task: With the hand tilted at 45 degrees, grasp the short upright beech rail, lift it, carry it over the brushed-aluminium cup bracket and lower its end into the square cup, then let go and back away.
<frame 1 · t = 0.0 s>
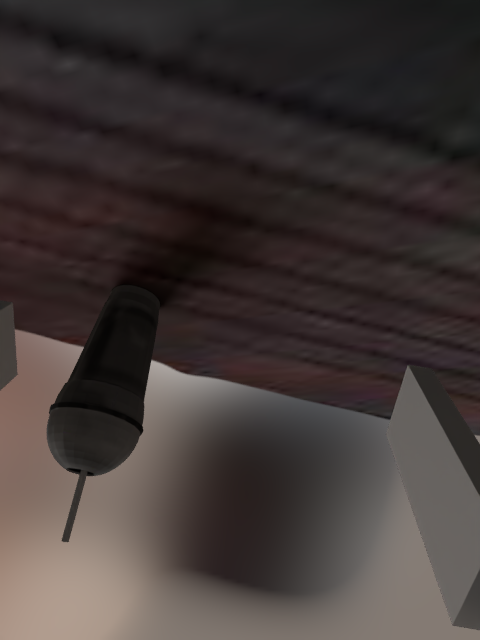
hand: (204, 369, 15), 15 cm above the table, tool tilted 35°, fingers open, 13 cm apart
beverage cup: (136, 297, 41), on the table
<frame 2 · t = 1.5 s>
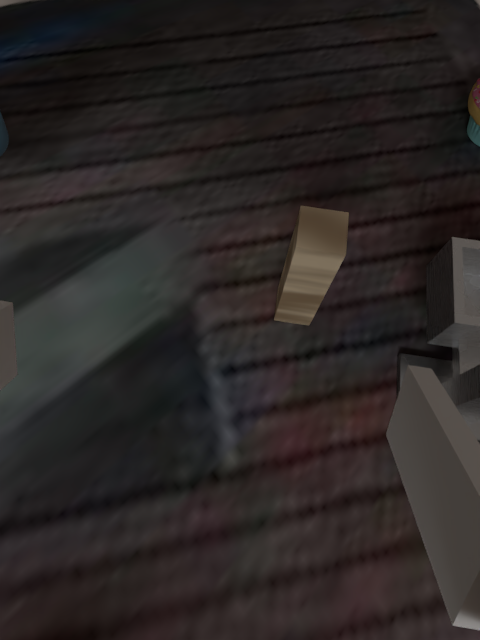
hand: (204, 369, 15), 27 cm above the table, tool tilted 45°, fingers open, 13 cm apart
bracket: (443, 329, 45), on the table
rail: (293, 306, 45), on the table
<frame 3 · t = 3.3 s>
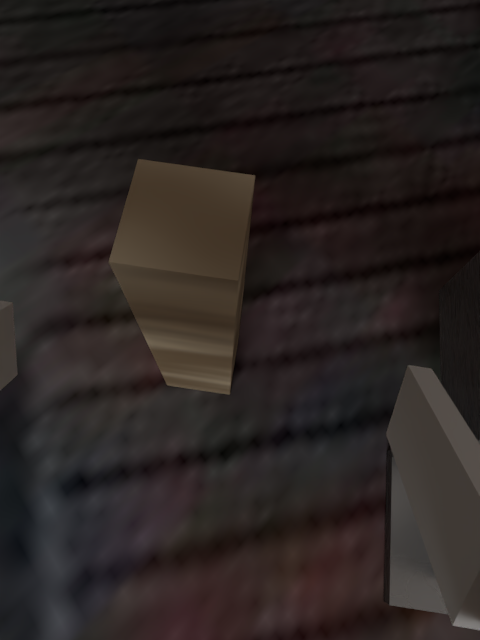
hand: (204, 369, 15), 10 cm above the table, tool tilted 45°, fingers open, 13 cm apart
bracket: (468, 399, 25), on the table
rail: (203, 359, 26), on the table
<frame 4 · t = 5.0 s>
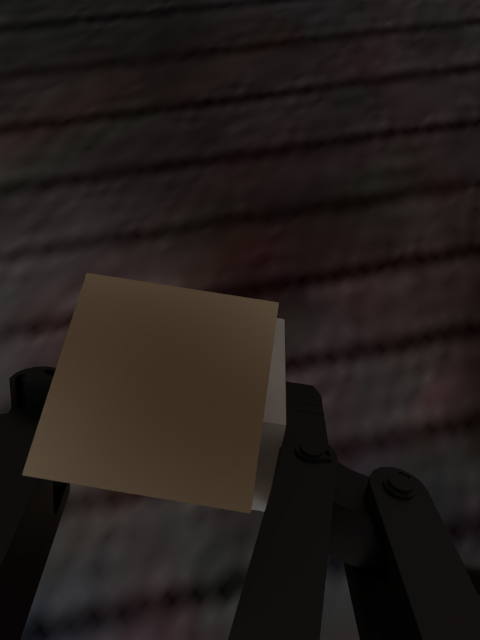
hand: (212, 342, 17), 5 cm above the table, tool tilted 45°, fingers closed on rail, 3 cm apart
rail: (200, 459, 20), on the table, touching gripper
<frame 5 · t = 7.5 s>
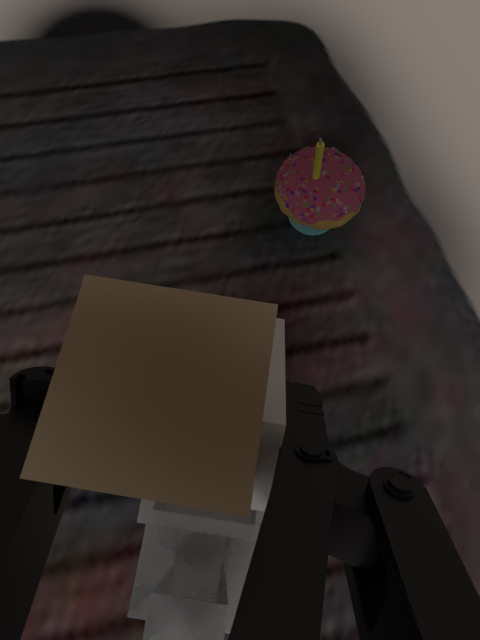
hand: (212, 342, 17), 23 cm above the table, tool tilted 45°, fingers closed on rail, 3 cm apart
bracket: (214, 473, 37), on the table
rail: (199, 460, 20), point 18 cm above the table, touching gripper
cupcake: (310, 215, 47), on the table
when the fingers open (12 cm above the table, at t = 10.2 s): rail stays where it is, resting on bracket.
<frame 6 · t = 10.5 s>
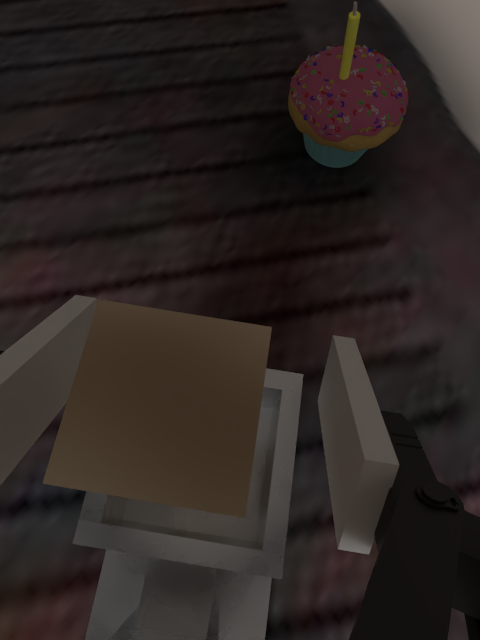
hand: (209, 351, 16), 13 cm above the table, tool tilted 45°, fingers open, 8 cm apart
bracket: (205, 470, 27), on the table
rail: (200, 463, 21), point 6 cm above the table, touching bracket
cupcake: (332, 145, 37), on the table
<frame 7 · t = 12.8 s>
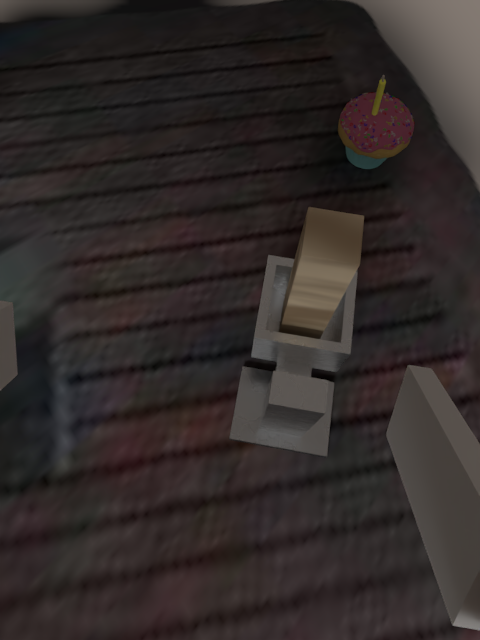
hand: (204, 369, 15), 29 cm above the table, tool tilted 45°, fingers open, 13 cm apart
bracket: (291, 343, 46), on the table
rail: (300, 321, 41), point 6 cm above the table, touching bracket
cupcake: (364, 154, 56), on the table
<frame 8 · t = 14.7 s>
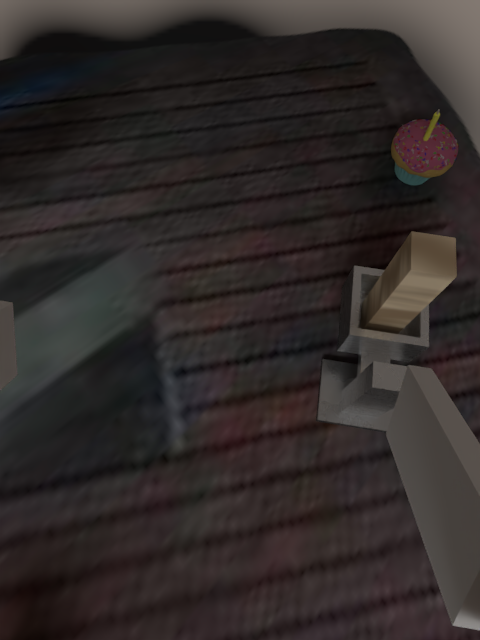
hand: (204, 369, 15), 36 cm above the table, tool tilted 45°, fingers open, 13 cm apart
bracket: (361, 339, 54), on the table
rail: (377, 320, 48), point 6 cm above the table, touching bracket
cupcake: (410, 172, 64), on the table
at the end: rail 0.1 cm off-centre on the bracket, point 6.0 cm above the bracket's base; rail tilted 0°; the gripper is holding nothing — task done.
